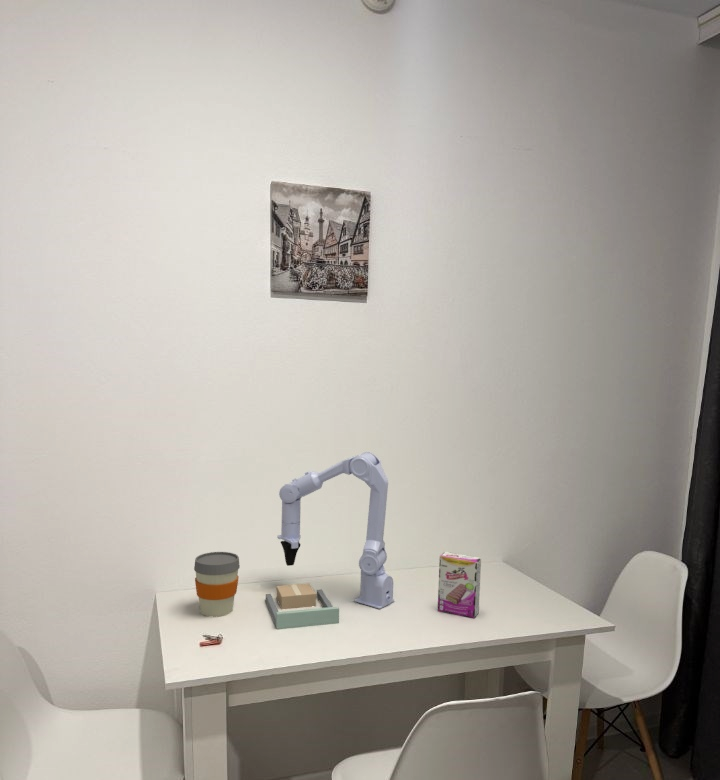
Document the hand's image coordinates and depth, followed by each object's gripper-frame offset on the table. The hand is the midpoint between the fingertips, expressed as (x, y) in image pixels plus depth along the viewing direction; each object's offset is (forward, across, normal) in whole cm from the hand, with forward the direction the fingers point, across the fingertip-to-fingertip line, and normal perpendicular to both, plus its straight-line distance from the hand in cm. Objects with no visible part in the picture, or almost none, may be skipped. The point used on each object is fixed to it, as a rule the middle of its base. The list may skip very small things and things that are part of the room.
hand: (289, 564), depth 197 cm
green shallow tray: (+8, +17, 0) cm, 19 cm away
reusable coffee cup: (+8, +11, -23) cm, 27 cm away
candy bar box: (+8, +28, +44) cm, 53 cm away
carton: (+8, +10, 0) cm, 13 cm away
